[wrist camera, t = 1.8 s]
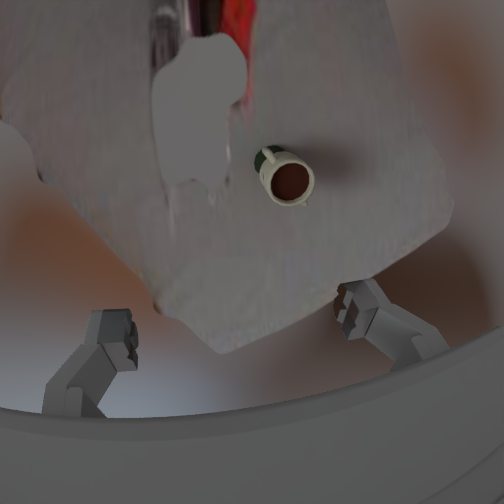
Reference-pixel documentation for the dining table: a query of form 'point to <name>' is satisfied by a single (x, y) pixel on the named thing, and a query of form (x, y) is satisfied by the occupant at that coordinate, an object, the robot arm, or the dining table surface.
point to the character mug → (284, 176)
